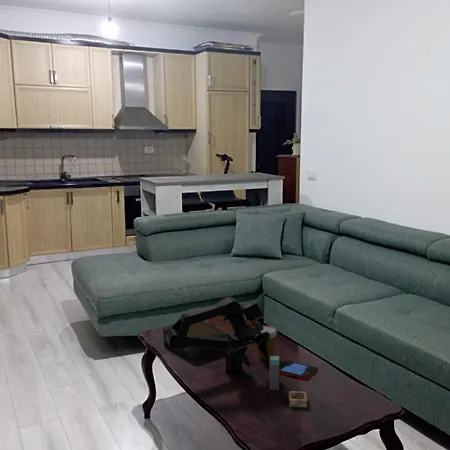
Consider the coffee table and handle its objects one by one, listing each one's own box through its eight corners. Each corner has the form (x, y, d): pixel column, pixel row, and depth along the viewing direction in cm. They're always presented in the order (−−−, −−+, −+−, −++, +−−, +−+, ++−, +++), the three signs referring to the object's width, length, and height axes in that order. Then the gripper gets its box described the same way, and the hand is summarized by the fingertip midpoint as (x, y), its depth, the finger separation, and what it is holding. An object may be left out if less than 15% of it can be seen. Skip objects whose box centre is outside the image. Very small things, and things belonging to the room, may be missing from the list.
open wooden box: (289, 408, 172) (289, 400, 172) (288, 399, 178) (288, 391, 178) (307, 408, 172) (307, 400, 171) (305, 399, 178) (305, 391, 177)
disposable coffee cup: (251, 359, 211) (251, 332, 208) (258, 350, 219) (258, 324, 217) (273, 362, 207) (273, 335, 205) (279, 353, 216) (279, 327, 214)
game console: (318, 370, 201) (318, 364, 201) (306, 383, 190) (306, 378, 190) (286, 362, 209) (286, 357, 208) (272, 374, 198) (272, 369, 198)
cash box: (230, 348, 222) (230, 332, 220) (193, 361, 209) (193, 344, 208) (197, 332, 241) (197, 316, 240) (161, 343, 228) (161, 327, 227)
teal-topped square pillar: (269, 390, 184) (269, 359, 182) (269, 385, 187) (269, 355, 185) (278, 390, 184) (279, 360, 182) (278, 385, 187) (278, 356, 185)
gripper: (230, 323, 185) (249, 361, 178) (267, 311, 196) (287, 347, 189) (218, 336, 193) (236, 373, 186) (254, 324, 204) (273, 359, 197)
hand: (259, 362), depth 189 cm, fingers open, 9 cm apart
